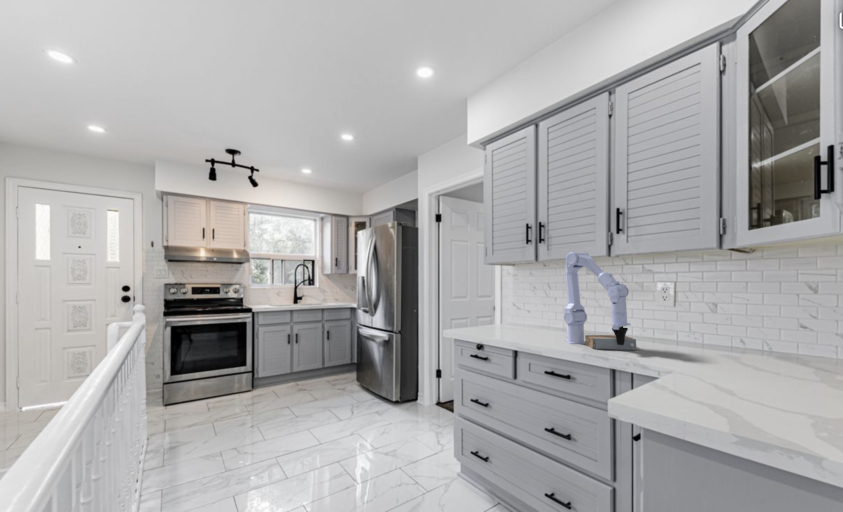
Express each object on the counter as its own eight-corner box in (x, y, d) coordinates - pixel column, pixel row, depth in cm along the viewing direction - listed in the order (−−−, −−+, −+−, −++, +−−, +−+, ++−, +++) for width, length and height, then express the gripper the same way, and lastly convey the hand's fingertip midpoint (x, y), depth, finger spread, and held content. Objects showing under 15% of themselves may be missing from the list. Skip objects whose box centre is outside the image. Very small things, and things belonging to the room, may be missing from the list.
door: (593, 348, 161) (593, 338, 161) (635, 349, 156) (635, 338, 157) (594, 349, 159) (594, 338, 159) (637, 350, 154) (636, 339, 155)
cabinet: (585, 345, 170) (585, 335, 170) (623, 344, 168) (623, 335, 168) (592, 348, 161) (592, 338, 161) (633, 348, 159) (632, 338, 160)
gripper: (625, 314, 149) (627, 348, 148) (633, 311, 160) (634, 343, 159) (606, 313, 153) (608, 346, 153) (615, 311, 164) (617, 341, 163)
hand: (620, 344), depth 156 cm, fingers closed, pressing on door
